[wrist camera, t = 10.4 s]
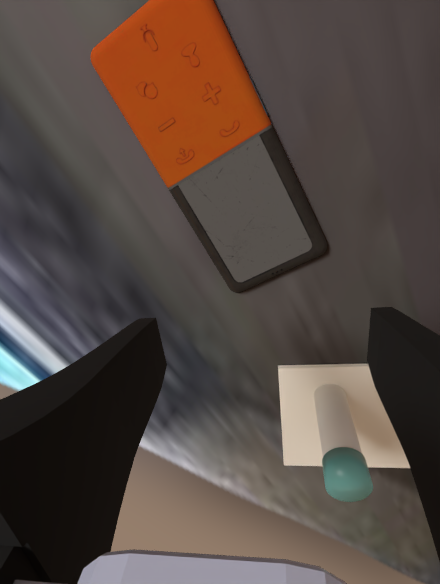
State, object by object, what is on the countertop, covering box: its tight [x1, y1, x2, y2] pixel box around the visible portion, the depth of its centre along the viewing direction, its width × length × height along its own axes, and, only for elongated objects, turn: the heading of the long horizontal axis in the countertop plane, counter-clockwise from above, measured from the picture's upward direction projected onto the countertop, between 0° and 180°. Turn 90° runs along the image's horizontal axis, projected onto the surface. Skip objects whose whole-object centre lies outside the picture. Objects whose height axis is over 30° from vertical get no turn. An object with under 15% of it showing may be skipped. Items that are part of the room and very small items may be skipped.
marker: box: [314, 384, 373, 502], centre depth 21 cm, size 2×2×7 cm
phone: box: [91, 0, 327, 293], centre depth 19 cm, size 6×1×15 cm
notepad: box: [278, 364, 410, 468], centre depth 25 cm, size 14×10×1 cm
